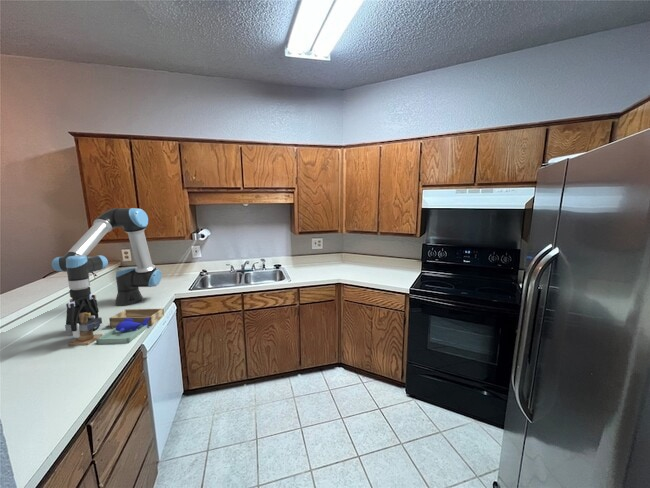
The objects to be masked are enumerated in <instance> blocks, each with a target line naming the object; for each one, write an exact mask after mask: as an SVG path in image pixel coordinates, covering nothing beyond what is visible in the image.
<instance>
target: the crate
mask: <svg viewBox="0 0 650 488" xmlns="http://www.w3.org/2000/svg"><path fill="white" fill-rule="evenodd" d="M164 310H165V309H164V308H137V309H136V308H135V309H134V308H133V309H132V308H131V309H130V308H129V309H125V308H124V310H121V311H120V312H118V313H117V314H114V315H113V316H110V317H109V328H110V329H114V328H116V326H117V325H118V324H119V323H120V322H123V321H124V320H125V319H133V321H132V322H136V323H143V321H144V320H145V319H146V318H149V317H150V318H149V320H148V322H147V325H148V326H149V327H153V325H155V324H156V323H158V321H160V320H161V319H162V318H164V316H165V311H164Z"/></svg>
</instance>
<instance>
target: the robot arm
mask: <svg viewBox="0 0 650 488" xmlns="http://www.w3.org/2000/svg"><path fill="white" fill-rule="evenodd" d="M148 224H149V216H148V214H147V212H146V211H144V210H143V209H141V208H137V207H136V208H135V207H124V208H123V207H122V208H119V207H116V208H111V209H108V210H105V212H103V213H102V214H100V215H99V216H97V218H95V219H94V221H93V224H92V226H90V228H89V229H88V230H87V231H86V232H85V233H84V234H83V235H82V236H81V237H80V238H79V239H78V240H77V242H75V244H73V246H71V248H70V249H69V250H68V251H67V252H66V253H65V254H64V255H63V256H57V257H55V258H54V259H52V261H51V267H52V269H53V270H54V271H56V272H63V273H67V280H68V281H67V282H68V288H69V289H70V290H68V291H69V298H70V299H73V300H72V302H71V303H70V302H68V303H66V305H65V306H66V316H65V317H66V318H65V325H71V331H70V332H72V338H78V337H80V329H79V323H78V324H77V321H78V318H79V314H80V310H81V309H82V307H85V309H86V310H87V312H88V313H91V316H89V317H88V318H96V316H95V315H97V314H98V315H99V313H100V310H99V308H98V303H97V304H96V301H95V294H92V291H91V287H90V286H91V282H90V274H91V273H93V272H94V273H95V272H97V271H98V272H99V271H101V270H103V269H106V268H107V267H108V265H109V261H108V259H107V257H105V256H104V255H100V254H99V255H94V256H88V255H89V254H90V253H91V252H92V250H93V249H94V248H96V246H97V245H98V244H99V242H100V241H101V240H102V239H103V238H104V236H105V235H106V234H107V233H109V232H111V231H112V230H114V229H115V228H123V232H124V233H126V234H127V235H128V239H129V243H130V246H131V250H132V254H133V257H134V261H135V264H136V266H134V267H133V266H132V267H127V268H122V269H118V270H117V271H116V272H115V280H116V288H117V294H116V297H115V305H116V306H121V307H122V306H131V305H134V304H135V305H136V304H138V303H141V302H142V301H143V299H144V298H143V296H142V293H141V291H140V289H139V288H153V287H157V286H158V285H160V283H161V280H162V274H163V273H162V271H161V270H160V269H157V267H156V265H155V264H153V261H152V258H151V253H150V250H149V246H148V243H147V238H146V235H145V234H146V233H145V230H146V229H147V228H146V227H147V226H148ZM76 307H77V308H76ZM97 312H98V313H97Z"/></svg>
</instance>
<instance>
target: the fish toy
mask: <svg viewBox="0 0 650 488" xmlns="http://www.w3.org/2000/svg"><path fill="white" fill-rule="evenodd" d="M149 318H150V317H149ZM149 318H146V319H145V320H144V321H143V323H136V322H132V321H133V319H125V320H124V321H123V322H120V323H119V324H118V325H117V326H116V330H117V331H128V330H132V331H134V330H139V329H138V328H137V327H138V326H140V325H143V326H145V325H147V322H148V320H149ZM147 329H150V326H148V325H147Z"/></svg>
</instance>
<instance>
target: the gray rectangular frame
mask: <svg viewBox="0 0 650 488" xmlns="http://www.w3.org/2000/svg"><path fill="white" fill-rule="evenodd" d="M87 319H88V321H87V322H85V323H83V324H80V319H78V321H77V324H78V323H79V329H80V331H88V330H90V329H92V328H97V327H99V328H100V327H101V324H103V321H102V317H101V316H100V317H99V316H98V317H97V318H87ZM64 327H65V328H64V329H65V332H72V331H71V325H66V324H65V325H64Z"/></svg>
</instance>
